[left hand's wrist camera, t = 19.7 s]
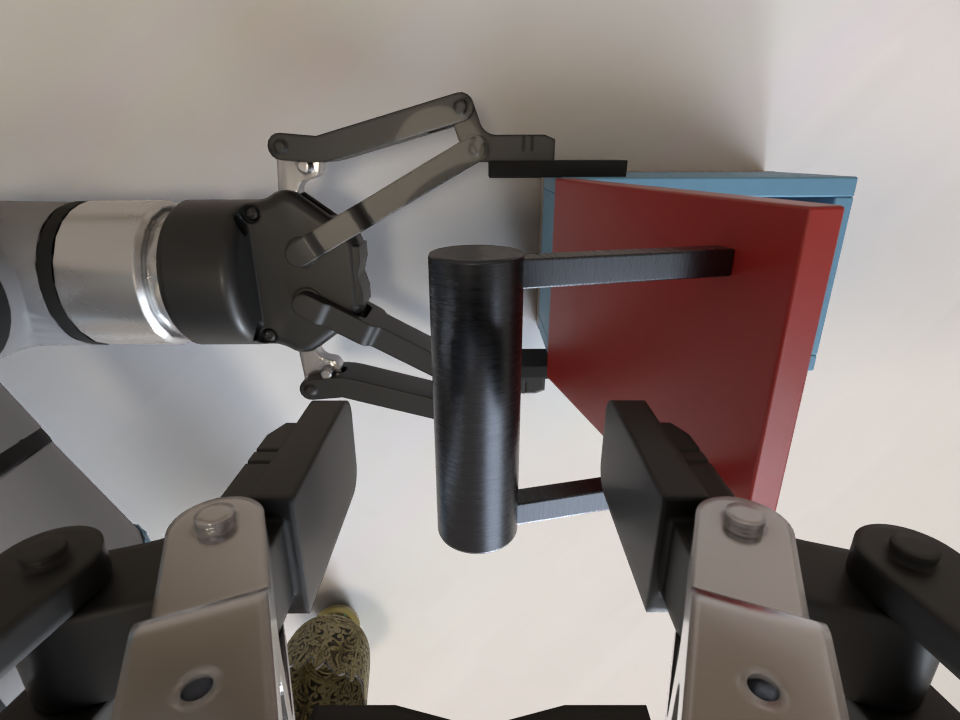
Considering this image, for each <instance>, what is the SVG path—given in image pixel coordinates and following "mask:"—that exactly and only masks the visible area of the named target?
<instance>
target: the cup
mask: <svg viewBox="0 0 960 720" xmlns="http://www.w3.org/2000/svg"><path fill="white" fill-rule="evenodd" d="M287 650H288V659H289V668H290V677H291V686H292V695H293V704H294V713H295V720H310V716H311V713H312V710H313V706H314V705H367V695H368V684H369V671H370V650H369V644H368V640H367V638H366V635H365V634H364V632H363V630H362V629H361V628H360V622H359V618H358V615H357V613H356V612H355V611H354V610H353V609H352V608H350V607H348V606H346V605H342V604H334V605H330V606H327V607H326V608H324V609H323V610H322V611H321V612H320V613H319V614H318V615H317V617H315V618H312V619H310V620H309V621H307V622H306V623H304V624H303V625H302V626H301V627H300V628H299V629H298V630H297V631H296V632H295V633H294V635H293V636H292V637H291V639H290V640H289V642H288V644H287Z"/></svg>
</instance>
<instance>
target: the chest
mask: <svg viewBox="0 0 960 720" xmlns="http://www.w3.org/2000/svg"><path fill="white" fill-rule="evenodd" d="M561 178H577V179H586V180H596V181H606V182H616V183H626V184H636V185H646V186H656V187H666V188H676V189H686V190H696V191H706V192H716V193H726V194H735V195H745V196H755V197H765V198H775V199H785V200H795V201H805V202H815V203H825V204H835V205H841V206H843V207H844V209H845V210H844V214H843V219H842V223H841V227H840V232H839V236H838V240H837V245H836V249H835V254H834V258H833V262H832V267H831V271H830V275H829V280H828V284H827V288H826V293H825V297H824V302H823V306H822V310H821V315H820V319H819V323H818V328H817V332H816V337H815V341H814V345H813V350H812V354H811V358H810V363H809V367H808V371H812V370H813V368H814V364H815V360H816V354H817V351H818V347H819V342H820V338H821V334H822V329H823V325H824V321H825V317H826V312H827V308H828V304H829V299H830V295H831V291H832V287H833V282H834V278H835V274H836V269H837V265H838V261H839V256H840V252H841V248H842V244H843V239H844V235H845V231H846V226H847V222H848V218H849V213H850V209H851V205H852V201H853V198H852V196H853V195H854V192H855V188H856V183H857V177H851V176H834V175H818V174H801V173H785V172H773V171H626V177H561ZM556 179H557V178H542V185H541V213H540V241H539V253H552V248H553V226H554V203H555V181H556ZM550 293H551V287H545V288H538V297H537V326H538V328H539V330H540V333H541V336H542V339H543V342H544V344H545V347H546V350H547V353H548V338H549V316H550Z"/></svg>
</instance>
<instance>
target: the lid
mask: <svg viewBox="0 0 960 720" xmlns="http://www.w3.org/2000/svg"><path fill="white" fill-rule="evenodd" d="M844 210H845V209H844V207H843V206H841V205H835V204H825V203H815V202H805V201H795V200H785V199H775V198H765V197H755V196H745V195H735V194H726V193H716V192H706V191H696V190H686V189H676V188H666V187H656V186H646V185H636V184H626V183H616V182H606V181H596V180H586V179H577V178H557V179H556V181H555V203H554V226H553V248H552V253H535V254H523V252H522V251H520V250H517V249H514V248H510V247H504V246H494V245H461V246H450V247H444V248H439V249H436V250H433V251H431V252H430V253H429V255H428V267H429V294H430V322H431V349H432V376H433V404H434V431H435V458H436V486H437V513H438V531H439V534H440V536H441V538H442V539H443V541H444V542H445V543H446V544H447V545H449V546H450V547H452V548H454V549H456V550H458V551H461V552H465V553H471V554H484V553H490V552H494V551H497V550H499V549H501V548H503V547H505V546H506V545H507V544H509V543H510V542H511V541H512V539H513V538H514V536H515V534H516V531H517V524H524V523H530V522H536V521H542V520H548V519H554V518H560V517H567V516H573V515H579V514H585V513H591V512H597V511H603V510H609V507H608V504H607V502H606V499H605V496H604V493H603V489H602V483H601V477H598V478H592V479H585V480H578V481H571V482H565V483H558V484H551V485H544V486H538V487H531V488H524V489H518V473H519V435H520V397H521V359H522V321H523V289H529V288H545V287H551V293H550V316H549V338H548V360H547V377H548V378H549V379H550V380H551V381H552V382H553V383H554V384H555V386H556V387H557V388H558V389H559V390H560V391H561V392H562V393H563V394H564V395H565V396H566V397H567V398H568V399H569V400H570V401H571V402H572V403H573V405H574V406H575V407H576V408H577V409H578V410H579V411H580V412H581V413H582V414H583V415H584V416H585V417H586V418H587V419H588V420H589V421H590V422H591V424H592V425H593V426H594V427H595V428H596V429H597V430H598V431H599V432H600V433H601V434H602V435H604V424H605V414H606V407H607V404H608V401H609V400H645V401H646V402H647V404H648V405H649V407H650V408H651V410H652V411H653V413H654V414H655V416H656V417H657V419H658V420H659V422H671V423H672V424H674V425H675V426H677V427H678V428H680V429H682V430H683V431H685V432H686V433H688V434H689V435H690V436H691V437H692V439H693V440H694V441H695V443H696V444H697V445H698V447H699V448H700V451H702V452H703V454H704V455H705V456H706V458H707V459H708V463H711V464H712V466H713V467H714V468H715V470H716V471H717V473H718V474H719V475H720V477H721V478H722V479H723V481H724V482H725V483H726V485H727V486H728V487H729V489H730V490H731V491H732V493H733V494H734V495H735V497H738V498H744V499H748V500H751V501H754V502H757V503H760V504H762V505H764V506H766V507H768V508H770V509H772V510H774V511H776V507H777V502H778V498H779V494H780V489H781V485H782V481H783V476H784V472H785V468H786V463H787V459H788V454H789V450H790V446H791V441H792V437H793V433H794V428H795V424H796V419H797V415H798V411H799V406H800V402H801V398H802V393H803V389H804V385H805V380H806V376H807V371H808V367H809V363H810V358H811V354H812V350H813V345H814V341H815V337H816V332H817V328H818V323H819V319H820V315H821V310H822V306H823V302H824V297H825V293H826V288H827V284H828V280H829V275H830V271H831V267H832V262H833V258H834V254H835V249H836V245H837V240H838V236H839V232H840V227H841V223H842V219H843V214H844Z"/></svg>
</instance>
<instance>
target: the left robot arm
mask: <svg viewBox="0 0 960 720" xmlns="http://www.w3.org/2000/svg"><path fill="white" fill-rule="evenodd" d="M356 475H357V466H356V454H355V444H354V433H353V423H352V413H351V407H350V404H349V402H348V401H311V403H310V404H309V406H308V407H307V409H306V410H305V411H304V413H303V414H302V416H301V417H300V419H299V420H298V422H297V423H286V424H284V425H282V426H281V427H279V428H278V429H276V430H275V431H273V432H271V433H270V434H268V435H267V436H266V438H265V439H264V440H263V442H262V443H261V444H260V446H259V447H258V448H257V452H254V454H253V455H252V456H251V458H250V459H249V460H248V464H245V466H244V467H243V468H242V470H241V471H240V472H239V474H238V475H237V476H236V478H235V479H234V480H233V482H232V483H231V484H230V486H229V487H228V488H227V490H226V491H225V492H224V494H223V495H222V496H221V498H216V499H212V500H209V501H206V502H203V503H200V504H198V505H196V506H194V507H192V508H190V509H188V510H186V511H185V512H183V513H182V514H180V515H179V516H178V517H177V518H176V519H174V521H173V522H172V523H171V524H170V525H169V527H168V529H167V531H166V534H165V538H163V539H160V540H156V541H151V542H147V543H142V544H137V545H132V546H127V547H122V548H117V549H112V550H108V549H107V546H106V543H105V539H104V536H103V534H102V532H100V531H99V530H98V529H96V528H94V527H90V526H80V525H79V526H67V527H61V528H56V529H52V530H49V531H45V532H42V533H39V534H37V535H34V536H31V537H29V538H27V539H25V540H23V541H21V542H19V543H17V544H15V545H13V546H11V547H10V548H8V549H7V550H5V551H4V552H2V553H1V554H0V679H1V678H3V677H4V676H5V675H6V674H7V673H8V672H9V671H10V670H12V669H13V668H14V667H15V666H16V669H17V671H18V673H19V676H20V678H21V680H22V683H23V685H24V687H25V690H23V691H22V692H21V693H20V694H19V695H18V696H17V697H16V698H15V699H14V700H13V701H12V702H11V703H10V704H9V705H8V706H7V707H6V708H5V709H4V710H3V711H1V712H0V720H295V713H294V704H293V695H292V686H291V677H290V668H289V659H288V650H287V641H286V636H285V630H284V624H283V623H284V620H285V618H286V615H287V613H310V611H311V608H312V606H313V603H314V600H315V598H316V595H317V592H318V589H319V587H320V584H321V581H322V579H323V576H324V573H325V570H326V568H327V565H328V562H329V560H330V557H331V554H332V551H333V549H334V546H335V543H336V541H337V538H338V535H339V533H340V530H341V527H342V524H343V522H344V519H345V516H346V514H347V511H348V508H349V505H350V503H351V500H352V497H353V494H354V491H355V486H356ZM601 483H602V489H603V493H604V496H605V499H606V502H607V504H608V507H609V510H610V513H611V515H612V518H613V521H614V524H615V527H616V529H617V532H618V535H619V538H620V540H621V543H622V546H623V549H624V551H625V554H626V557H627V560H628V563H629V565H630V568H631V571H632V574H633V576H634V579H635V582H636V585H637V587H638V590H639V593H640V596H641V598H642V601H643V604H644V607H645V610H646V612H669V615H670V617H671V619H672V622H673V624H674V627H675V629H676V630H675V636H674V641H673V650H672V659H671V668H670V677H669V686H668V695H667V704H666V713H665V720H960V712H959V711H957V710H956V709H955V708H954V707H953V706H952V705H951V704H950V703H949V702H948V701H947V700H946V699H945V698H944V697H943V696H942V695H941V694H940V693H939V692H938V691H936V690H935V689H934V688H933V687H932V686H931V685H930V684H931V681H932V679H933V676H934V674H935V672H936V669H937V667H938V664H939V662H941V663H942V664H943V665H944V666H945V667H946V668H947V669H948V670H950V671H951V672H952V673H953V674H954V675H955V676H956V677H957V678H959V679H960V554H959V553H958V552H956V551H955V550H953V549H952V548H950V547H949V546H947V545H946V544H944V543H942V542H940V541H938V540H936V539H934V538H932V537H930V536H928V535H925V534H923V533H920V532H917V531H915V530H911V529H908V528H904V527H900V526H895V525H888V524H870V525H866V526H863V527H861V528H859V529H858V530H857V531H856V532H855V534H854V537H853V541H852V544H851V547H850V550H848V549H843V548H838V547H833V546H829V545H824V544H819V543H814V542H809V541H804V540H800V539H796V538H795V534H794V531H793V529H792V527H791V525H790V524H789V523H788V522H787V521H786V519H784V518H783V517H782V516H781V515H780V514H778V513H777V512H775V511H774V510H772V509H770V508H768V507H766V506H764V505H762V504H760V503H757V502H754V501H751V500H748V499H744V498H738V497H735V495H734V494H733V493H732V491H731V490H730V489H729V487H728V486H727V485H726V483H725V482H724V481H723V479H722V478H721V477H720V475H719V474H718V473H717V471H716V470H715V468H714V467H713V466H712V464H711V463H708V459H707V458H706V456H705V455H704V454H703V452H702V451H700V448H699V447H698V445H697V444H696V443H695V441H694V440H693V439H692V437H691V436H690V435H689V434H688V433H686V432H685V431H683V430H682V429H680V428H678V427H677V426H675V425H674V424H672V423H671V422H659V420H658V419H657V417H656V416H655V414H654V413H653V411H652V410H651V408H650V407H649V405H648V404H647V402H646V401H645V400H609V401H608V404H607V407H606V414H605V424H604V435H603V446H602V457H601ZM310 720H449V719H445V718H442V717H438V716H434V715H430V714H427V713H423V712H419V711H415V710H412V709H408V708H404V707H400V706H397V705H314V706H313V710H312V713H311V716H310ZM511 720H650V716H649V713H648V710H647V706H646V705H563V706H560V707H556V708H552V709H548V710H545V711H541V712H537V713H533V714H530V715H526V716H522V717H518V718H515V719H511Z"/></svg>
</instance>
